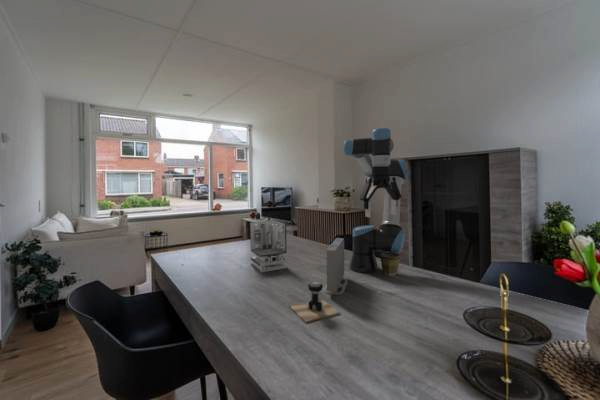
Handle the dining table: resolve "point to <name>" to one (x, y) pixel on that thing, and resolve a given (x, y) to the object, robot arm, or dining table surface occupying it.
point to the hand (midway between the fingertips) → (381, 215)
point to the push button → (315, 296)
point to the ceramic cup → (390, 263)
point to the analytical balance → (268, 245)
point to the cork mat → (313, 311)
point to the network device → (335, 267)
